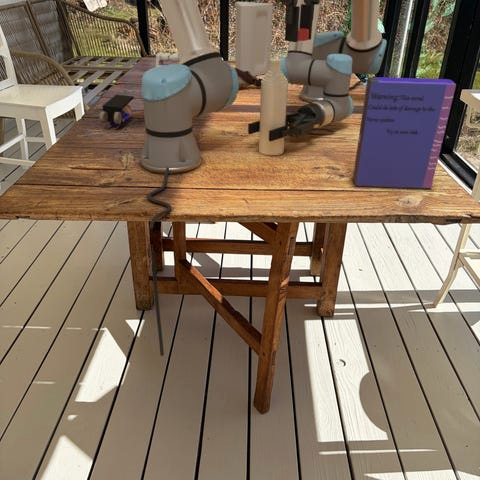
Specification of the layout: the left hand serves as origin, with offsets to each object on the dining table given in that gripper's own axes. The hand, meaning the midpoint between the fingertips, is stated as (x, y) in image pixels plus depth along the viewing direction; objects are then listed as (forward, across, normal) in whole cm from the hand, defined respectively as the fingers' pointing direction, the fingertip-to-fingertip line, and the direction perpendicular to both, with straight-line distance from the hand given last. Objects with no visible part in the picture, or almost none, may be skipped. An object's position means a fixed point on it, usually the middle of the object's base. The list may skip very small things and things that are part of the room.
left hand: (298, 39), depth 99 cm
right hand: (+25, +7, +16) cm, 30 cm away
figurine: (+31, +60, +67) cm, 95 cm away
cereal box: (+31, +15, -19) cm, 40 cm away
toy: (+31, +69, +113) cm, 136 cm away
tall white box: (+31, +83, +85) cm, 123 cm away
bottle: (+31, +12, +15) cm, 37 cm away
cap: (-2, 0, 0) cm, 2 cm away
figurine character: (+31, -4, +64) cm, 72 cm away
